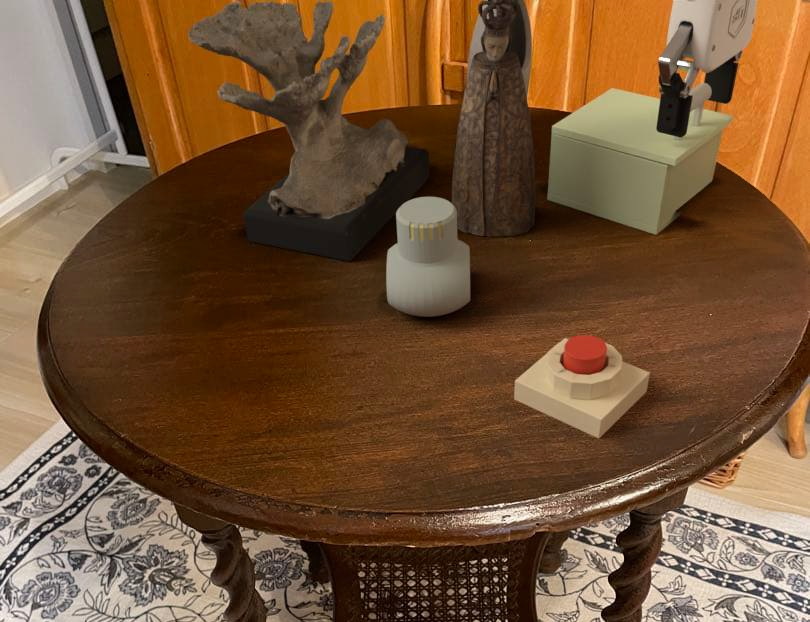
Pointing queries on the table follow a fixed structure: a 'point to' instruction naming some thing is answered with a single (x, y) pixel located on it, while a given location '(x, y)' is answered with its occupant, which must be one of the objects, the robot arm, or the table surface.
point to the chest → (626, 182)
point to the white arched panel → (520, 39)
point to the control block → (582, 390)
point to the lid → (642, 125)
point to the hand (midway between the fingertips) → (694, 116)
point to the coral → (315, 131)
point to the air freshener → (428, 260)
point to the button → (584, 355)
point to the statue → (494, 137)
